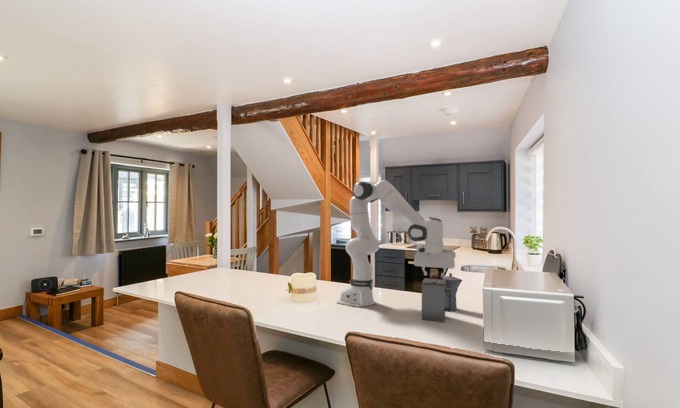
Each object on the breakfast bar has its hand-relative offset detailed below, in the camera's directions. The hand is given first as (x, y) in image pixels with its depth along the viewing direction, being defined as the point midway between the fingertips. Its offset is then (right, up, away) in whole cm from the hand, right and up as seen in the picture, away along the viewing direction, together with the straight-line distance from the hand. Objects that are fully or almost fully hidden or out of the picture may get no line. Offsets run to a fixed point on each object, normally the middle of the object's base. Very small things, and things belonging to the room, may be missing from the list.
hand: (434, 276), depth 181 cm
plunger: (0, -20, 0) cm, 20 cm away
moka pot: (+12, -22, +17) cm, 30 cm away
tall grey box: (+1, -22, -1) cm, 22 cm away
